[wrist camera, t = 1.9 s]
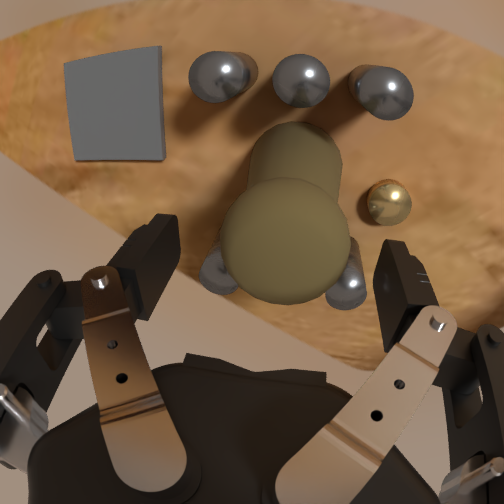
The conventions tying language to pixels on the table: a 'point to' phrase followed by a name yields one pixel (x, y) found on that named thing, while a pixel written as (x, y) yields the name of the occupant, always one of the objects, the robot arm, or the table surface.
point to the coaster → (116, 105)
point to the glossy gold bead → (388, 202)
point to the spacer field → (302, 96)
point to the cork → (288, 218)
